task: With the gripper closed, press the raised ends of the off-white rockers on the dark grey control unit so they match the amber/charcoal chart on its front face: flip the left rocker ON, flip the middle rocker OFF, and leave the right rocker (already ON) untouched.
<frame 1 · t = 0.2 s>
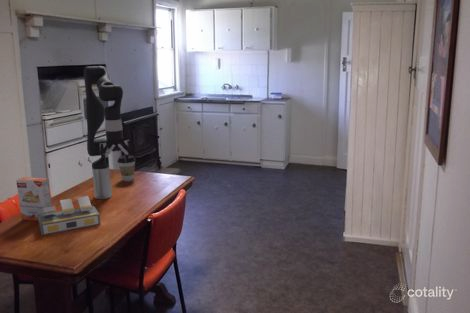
hand: (116, 163, 212), 29 cm above the table, fingers open, 8 cm apart
rocker mid: (67, 206, 217), point 9 cm above the table, hinge at 20.0°
rocker right: (84, 203, 220), point 9 cm above the table, hinge at 20.0°
rocker left: (49, 209, 213), point 9 cm above the table, hinge at -20.0°
coffee cup: (128, 180, 290), on the table
switch unit: (69, 224, 217), on the table
cracker box: (37, 219, 225), on the table
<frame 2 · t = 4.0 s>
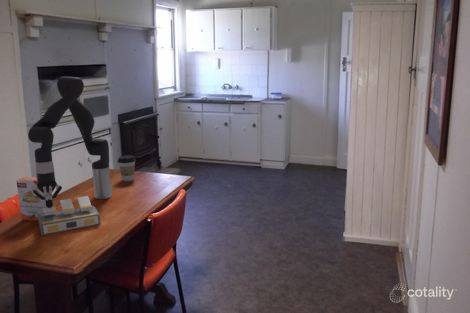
hand: (49, 207, 209), 11 cm above the table, fingers closed
rocker left: (49, 209, 213), point 9 cm above the table, hinge at -16.8°, touching gripper
everything else where it was.
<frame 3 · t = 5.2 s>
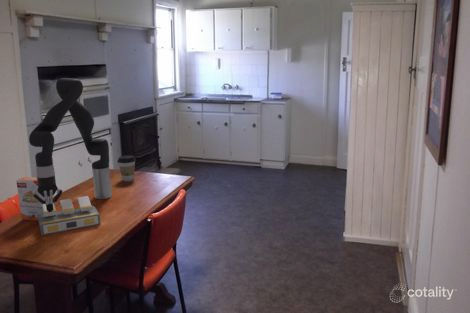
hand: (50, 211, 209), 9 cm above the table, fingers closed
rocker left: (49, 209, 213), point 9 cm above the table, hinge at 9.7°, touching gripper
everything else where it was.
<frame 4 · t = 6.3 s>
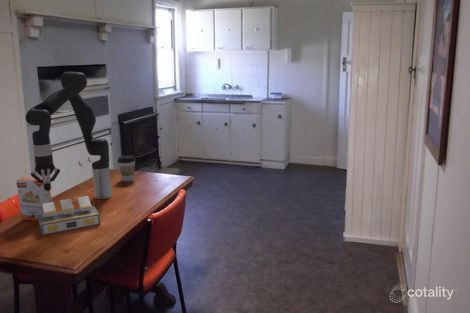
hand: (47, 190, 208), 19 cm above the table, fingers closed
rocker left: (49, 209, 213), point 9 cm above the table, hinge at 14.7°
everything else where it was.
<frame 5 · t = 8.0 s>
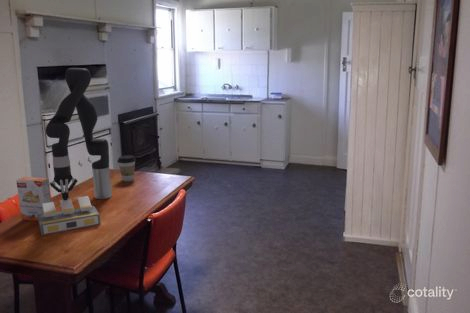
hand: (65, 199, 219), 11 cm above the table, fingers closed
rocker mid: (67, 206, 217), point 9 cm above the table, hinge at 19.9°, touching gripper
rocker left: (49, 209, 213), point 9 cm above the table, hinge at 15.4°
everything else where it was.
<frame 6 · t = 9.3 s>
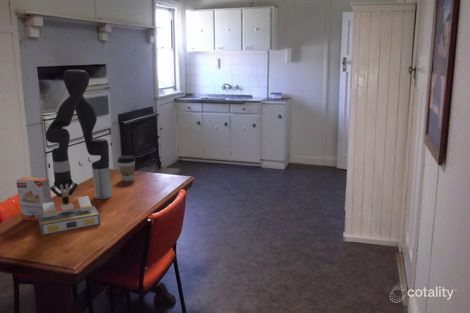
hand: (65, 203, 221), 9 cm above the table, fingers closed
rocker mid: (67, 206, 217), point 9 cm above the table, hinge at -14.8°, touching gripper
everything else where it was.
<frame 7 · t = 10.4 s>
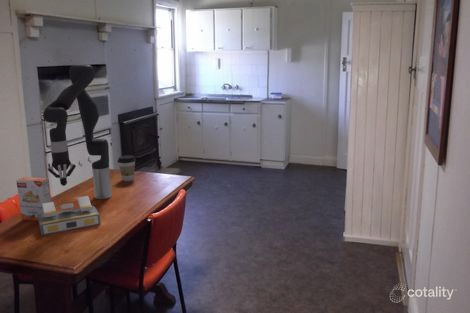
hand: (63, 185, 218), 18 cm above the table, fingers closed
rocker mid: (67, 206, 217), point 9 cm above the table, hinge at -21.0°
everything else where it was.
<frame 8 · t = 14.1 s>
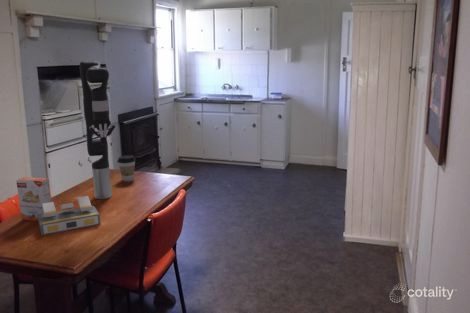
hand: (103, 144, 226), 35 cm above the table, fingers closed
rocker mid: (67, 206, 217), point 9 cm above the table, hinge at -21.9°
everything else where it was.
at the end: rocker left at +15° (first picture: -20°); rocker mid at -22° (first picture: +20°); rocker right at +20° (first picture: +20°) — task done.
